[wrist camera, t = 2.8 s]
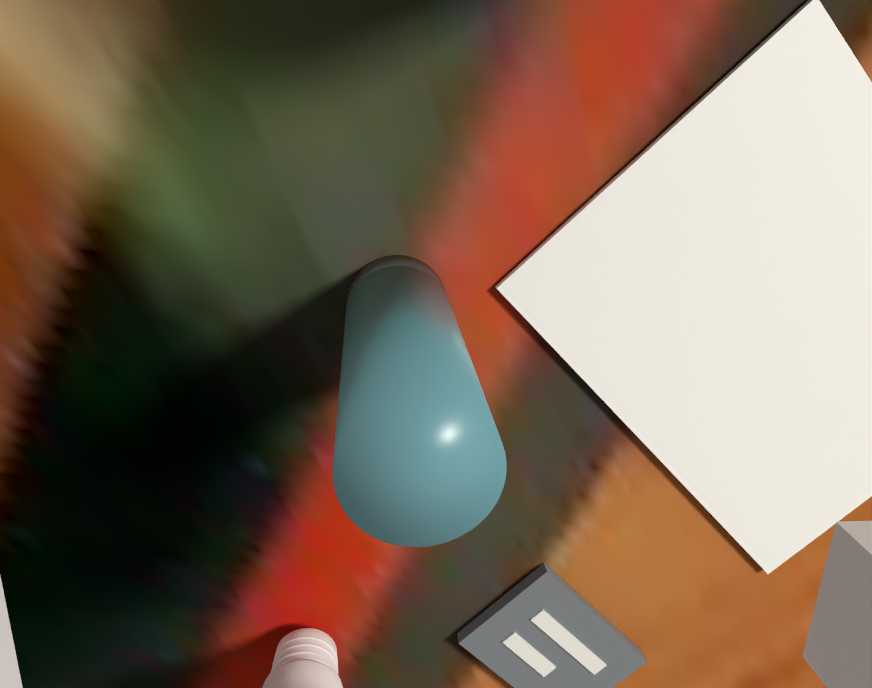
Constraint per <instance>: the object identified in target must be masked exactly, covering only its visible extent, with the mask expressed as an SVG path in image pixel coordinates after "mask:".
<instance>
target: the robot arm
mask: <svg viewBox="0 0 872 688" xmlns="http://www.w3.org/2000/svg"><path fill="white" fill-rule="evenodd" d="M803 657H804V658H805V660H806V661H807V662H808V664H809V665H810V666H811V668H812V669H813V670H814V672H815V673H816V674H817V675H818V677H819V678H820V679H821V681H822V682H823V683H824V685H825V686H826V687H827V688H872V521H847V522H836V525H835V529H834V533H833V537H832V541H831V545H830V549H829V553H828V557H827V561H826V565H825V568H824V572H823V576H822V580H821V584H820V588H819V592H818V596H817V600H816V604H815V608H814V612H813V616H812V620H811V624H810V628H809V632H808V636H807V640H806V644H805V648H804V652H803ZM0 688H23V687H22V682H21V677H20V672H19V667H18V662H17V657H16V652H15V647H14V642H13V637H12V632H11V627H10V622H9V617H8V612H7V607H6V602H5V597H4V592H3V587H2V582H1V577H0Z"/></svg>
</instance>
